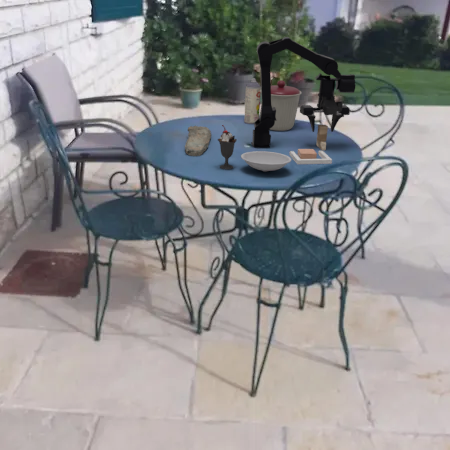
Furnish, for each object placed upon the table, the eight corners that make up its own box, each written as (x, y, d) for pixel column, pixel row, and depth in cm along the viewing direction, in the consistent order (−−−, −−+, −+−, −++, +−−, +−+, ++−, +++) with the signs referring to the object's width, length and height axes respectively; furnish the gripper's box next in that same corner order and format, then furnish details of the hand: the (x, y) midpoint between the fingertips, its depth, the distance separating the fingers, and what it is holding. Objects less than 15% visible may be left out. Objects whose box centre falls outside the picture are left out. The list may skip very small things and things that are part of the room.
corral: (297, 164, 202) (297, 160, 202) (289, 154, 213) (289, 151, 212) (331, 163, 204) (332, 159, 204) (321, 154, 215) (322, 150, 214)
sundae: (216, 164, 200) (217, 123, 194) (234, 164, 200) (236, 123, 194) (217, 170, 194) (218, 128, 188) (236, 170, 194) (238, 128, 188)
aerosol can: (257, 124, 254) (259, 80, 246) (242, 123, 256) (244, 79, 247) (260, 121, 260) (262, 77, 252) (245, 120, 262) (247, 76, 253)
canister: (249, 127, 250) (252, 79, 241) (277, 121, 261) (280, 75, 252) (279, 135, 238) (282, 85, 229) (306, 129, 249) (311, 81, 240)
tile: (300, 160, 209) (301, 153, 208) (297, 155, 214) (297, 148, 213) (316, 160, 209) (316, 153, 208) (312, 155, 215) (313, 149, 214)
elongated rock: (179, 159, 209) (206, 162, 209) (180, 146, 206) (207, 149, 206) (189, 131, 240) (212, 133, 240) (190, 119, 237) (213, 121, 237)
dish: (293, 167, 199) (294, 154, 197) (286, 180, 186) (287, 166, 184) (245, 162, 203) (246, 149, 201) (235, 174, 190) (236, 160, 188)
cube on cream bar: (327, 150, 220) (329, 128, 216) (320, 150, 220) (322, 128, 216) (321, 145, 227) (323, 123, 223) (314, 145, 226) (316, 123, 223)
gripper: (309, 96, 205) (305, 137, 212) (357, 96, 208) (352, 136, 215) (301, 90, 215) (297, 130, 222) (346, 90, 218) (342, 129, 225)
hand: (322, 131), depth 220 cm, fingers open, 7 cm apart
